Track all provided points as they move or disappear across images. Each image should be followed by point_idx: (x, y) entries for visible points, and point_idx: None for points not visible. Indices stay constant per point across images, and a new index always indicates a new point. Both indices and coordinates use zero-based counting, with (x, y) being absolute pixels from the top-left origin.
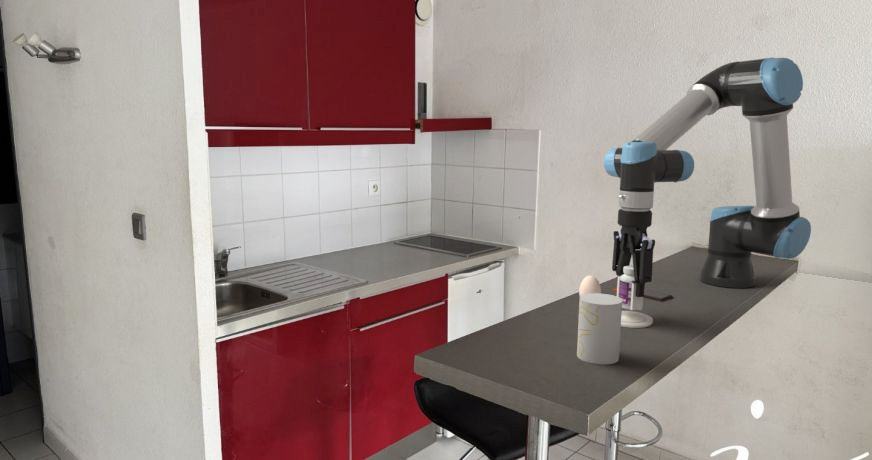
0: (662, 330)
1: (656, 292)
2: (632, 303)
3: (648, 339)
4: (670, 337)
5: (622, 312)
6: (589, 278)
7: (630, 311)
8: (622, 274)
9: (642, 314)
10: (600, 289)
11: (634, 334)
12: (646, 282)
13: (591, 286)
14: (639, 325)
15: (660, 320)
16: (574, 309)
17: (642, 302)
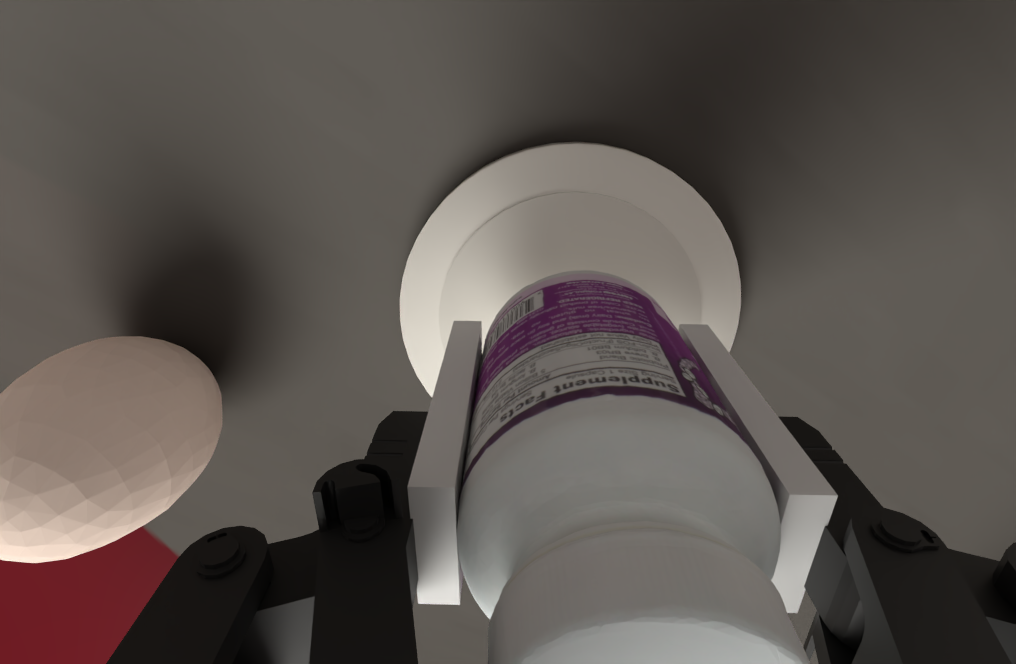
0: (836, 207)
1: None
2: None
3: (911, 394)
4: (970, 246)
5: (468, 312)
6: (54, 551)
7: (439, 226)
8: (410, 572)
9: (534, 175)
10: (139, 399)
11: (803, 418)
12: (964, 554)
13: (152, 503)
14: (731, 339)
15: (640, 59)
16: (277, 492)
17: (731, 358)
